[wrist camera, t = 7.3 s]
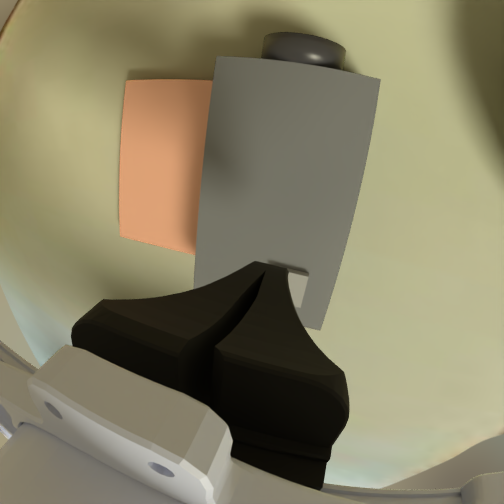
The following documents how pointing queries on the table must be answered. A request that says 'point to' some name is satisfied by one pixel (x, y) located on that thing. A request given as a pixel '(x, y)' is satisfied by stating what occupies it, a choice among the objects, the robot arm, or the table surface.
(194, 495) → the robot arm
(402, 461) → the table surface
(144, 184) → the side door
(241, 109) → the camera housing
